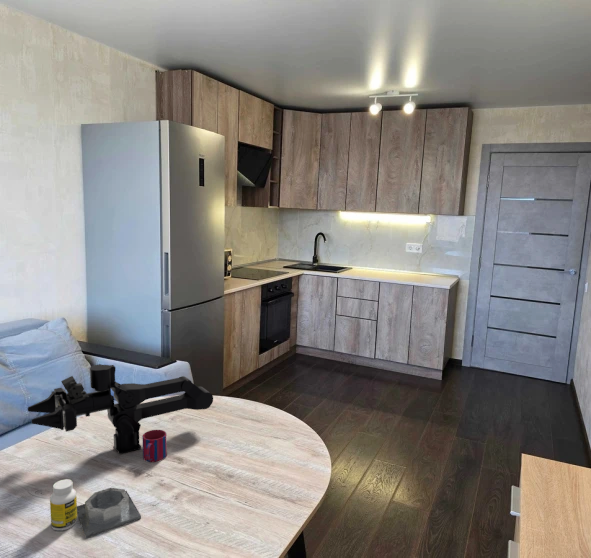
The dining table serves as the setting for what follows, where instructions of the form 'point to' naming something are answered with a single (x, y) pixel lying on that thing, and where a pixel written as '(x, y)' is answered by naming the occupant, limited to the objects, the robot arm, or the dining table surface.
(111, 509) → the collar
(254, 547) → the dining table surface
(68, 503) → the supplement bottle
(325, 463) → the dining table surface
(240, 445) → the dining table surface
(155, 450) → the mug
